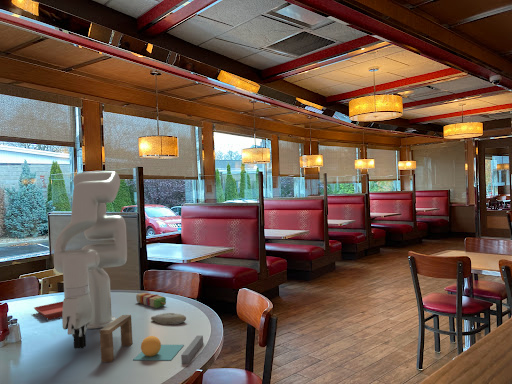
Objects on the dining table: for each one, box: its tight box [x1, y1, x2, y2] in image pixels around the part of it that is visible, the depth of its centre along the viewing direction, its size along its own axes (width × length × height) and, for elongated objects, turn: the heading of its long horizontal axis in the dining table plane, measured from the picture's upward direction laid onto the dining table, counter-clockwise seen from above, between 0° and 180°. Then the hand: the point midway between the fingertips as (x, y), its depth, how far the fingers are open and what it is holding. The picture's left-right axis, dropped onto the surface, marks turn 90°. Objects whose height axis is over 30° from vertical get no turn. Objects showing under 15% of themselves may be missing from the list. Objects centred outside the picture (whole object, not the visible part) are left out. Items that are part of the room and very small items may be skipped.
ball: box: [140, 335, 162, 357], centre depth 129 cm, size 6×6×6 cm
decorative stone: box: [150, 312, 187, 325], centre depth 162 cm, size 6×16×3 cm, turn 72°
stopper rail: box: [180, 335, 204, 365], centre depth 130 cm, size 2×16×2 cm, turn 171°
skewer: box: [136, 292, 167, 309], centre depth 188 cm, size 21×6×5 cm, turn 46°
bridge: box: [99, 314, 133, 363], centre depth 133 cm, size 3×15×10 cm, turn 171°
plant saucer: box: [33, 300, 64, 320], centre depth 184 cm, size 18×18×3 cm
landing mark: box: [133, 344, 185, 362], centre depth 131 cm, size 12×12×1 cm
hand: (80, 347), depth 135 cm, fingers closed
